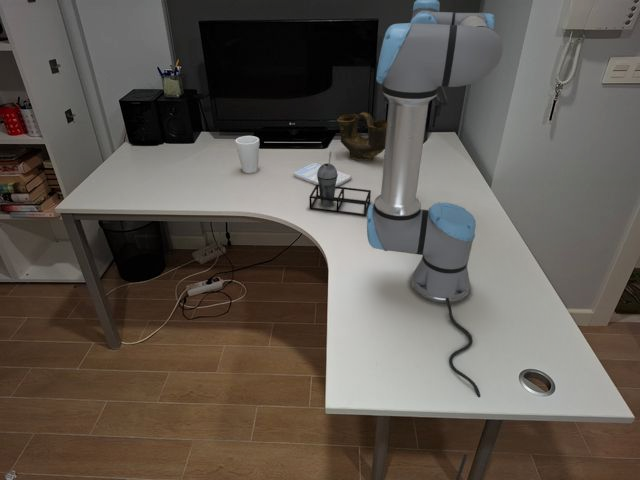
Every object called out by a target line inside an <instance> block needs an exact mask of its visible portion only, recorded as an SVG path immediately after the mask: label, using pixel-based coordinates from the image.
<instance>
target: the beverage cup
mask: <svg viewBox="0 0 640 480" xmlns="http://www.w3.org/2000/svg"><path fill="white" fill-rule="evenodd" d="M331 158H332V151H331V150H330V151H329V155H328V163H323V164H320V165H321V166H320V168H319V169H318V172H317V178H318V182H319V186H318V194H319V195H320V197H324V198H332V199H334V197H335V196H336V195H335V194H336V188H335V186H336V181H337V176H338V174H337V171H338V170H337V168H336V167H335V165H333V164H332V163H331ZM319 202H320V206H321V207H323V208H332V207H333V206H334V203H335V201H330V200H322V199H319Z"/></svg>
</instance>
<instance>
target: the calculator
mask: <svg viewBox="0 0 640 480" xmlns="http://www.w3.org/2000/svg"><path fill="white" fill-rule="evenodd" d="M321 165H322V164H320V163H316V162H313V163H311V164H308V165H307V166H304V167H301V168H300V169H298V170H295V171H294V172H293V175H294V177H295V178H298V179H301V180H303V181H306V182H308V183H310V184H313V185H315V186H316V185H317V184H319V182H318V178H317V172H318V169H319V168H320V166H321ZM337 174H338V176H337V181H336V186H337V187H340V186H341V185H343V184H345V183H347V182H348V181H350V180H351V178H352V176H351V175H350V174H347V173H345V172H342V171H339V170H337Z"/></svg>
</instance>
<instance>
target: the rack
mask: <svg viewBox="0 0 640 480" xmlns="http://www.w3.org/2000/svg"><path fill="white" fill-rule="evenodd" d="M336 189H337V190H340V192H339V194H338V196H337V197H336V196H334V199H332V198H324V197H320V194H319V184H317V185H316V184H315V186H314V188H313V189H312V191H311V193H310V195H309V198H308V199H309V210H312V211H319V212H320V211H321V212H327V213H328V212H329V213H337V214H344V215H352V216H359V217H367V213H368V208H369V206H370V205H371V196H372V195H371V194H372V193H371V192H372V191H371V189H362V188H356V187H355V188H354V187H345V186H335V190H336ZM345 190H346V191H355V192H363V193H367V194H366V198H365V200H362V199H360V200H359V199H353V198H345ZM314 194H316V195H314ZM312 199H313V201H312ZM320 199H322V200H330V201H334V202H336V205H335V206H336V208H335V209H328V208H321V207H314V206H315V204H316V202H317V200H320ZM343 203H348V204H356V205H362V206H363V205H364V207H363V213H361V212H352V211H345V210H340V209H341V207H342V205H343Z"/></svg>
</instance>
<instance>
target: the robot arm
mask: <svg viewBox="0 0 640 480" xmlns="http://www.w3.org/2000/svg"><path fill="white" fill-rule="evenodd" d="M495 22H496V21H495V15H494V14H493V13H485V12H450V11H449V12H447V11H440V1H439V0H415V1H414V3H413V8H412V16H411V19H410V22H407V23H406V22H405V23H393V24H391V25H390V26H389V27H388V28H387V30H386V31H385V33H384V37H383V41H382V44H381V48H380V53H379V58H378V64H377V67H376V68H377V69H376V78H375V81H376V83H378V84H380V85H382V94H383V95H384V97H383V101H384V102H388V105H387V106H388V107H387V118H386V121H387V129H386V141H385V149H384V153H383V164H382V165H383V166H382V176H381V177H382V178H381V188H380V190H381V191H380V194H379V195H378V196H377V197H376V198H375V199H374V203H370V204H369V207H368V210H367V213H366V235H367V242H368V244H369V246H370V247H371V248H373V249H375V250H382V251H384V252H395V253H402V254H403V253H405V254H413V255H418V256H419V255H420V256H422V257H421V260H420V261H419V263H418V264H417V266H416V267H415V269H414V271H413V272H412V276H411V285H412V288H413V290H414V291H415V292H416V293H417V295H419V296H420V297H421V298H423V299H425V300H427V301H430V302H433V303H437V304H444V305H445V304H446V305H447V309H448V315H449V319H450V321H451V322H452V323H453V325H454V326H455V327H457V329H459V330H460V331H462V333H464V334H465V335H466V336H467V337H468V343H467V344H466V345H465V346H463V347H461V348H459V349H457V350H455V351H453V352H452V353H451V354H450V355H449V358H448V364H449V367H450V368H451V370H452V371H453V372H454V373H455V374H457V375H459V376H460V377H461V378H463V379H464V380H466V381H467V382H468V383H469V384H470V385H471V386H472V388H473V389H474V391H475V394H476V397H477V398H481V391H480V389H479V388H478V386H477V384H476V383H475V382H474V381H473V379H472V378H470V377H469V376H467V375H466V374H465V373H463V372H462V371H460V370H459V369H457V368H456V366H455V365H454V364H453V359H454V358H455V356H457V355H458V354H460V353H463V352H464V351H466V350H468V349H469V348H471V346H472V344H473V337H472V334H471V333H470V331H468V330H467V329H466V328H464V327H463V326H462V325H460V324H459V323H458V322H457V321H456V320H455V319H454V316H453V311H452V306H451V304H456V303H459V302H461V301H463V300H465V299H466V298H467V297H468V295H469V292H470V288H471V283H470V282H471V281H470V277H469V270H468V263H469V260H470V256H471V251H472V246H473V243H474V239H475V237H476V228H477V227H476V226H477V223H476V218H475V217H474V215H473V214H472V213H471V212H469V211H468V210H467V209H466V208H464V207H463V206H459V205H458V204H456V203H455V204H454V203H450V202H439V203H434V204H432V205H431V206H430V207H429V208H428V209H422V203H421V201H420V200H419V199H418V198H417V192H418V185H419V184H418V183H419V178H420V169H421V163H422V162H421V161H422V156H423V155H422V154H423V147H424V139H425V133H426V131H425V130H426V124H427V117H428V109H429V104H430V101H432V100H433V102H434V103H435V105H434V111H433V118H432V128H436V127H435V126H436V120H437V117H439V118H440V116H441V111H442V108H443V107H444V106H445V107H446V106H447V105H448V98H447V95H446V92H445V89H444V88H448V87H449V88H459V87H464V86H468V85H471V84H474V83H476V82H478V81H480V80H482V79H484V78H485V77H487V76H488V75H490V74H491V73H492V72H493V71H494V70H495V69H496V68H497V66H498V65H499V63H500V61H501V59H502V56H503V55H502V54H503V51H504V50H503V43H502V40H501V37H500V35H499V34H498V32H497V31H496V30H495ZM438 92H439V95H440V98H441V99H440V98H439V96H438ZM467 457H468V454H463V456H462V460H461V463H460V466H459V469H458V472H457V475H456V478H455V480H460V478H461V476H462V472H463V470H464V467H465V464H466V462H467Z"/></svg>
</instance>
